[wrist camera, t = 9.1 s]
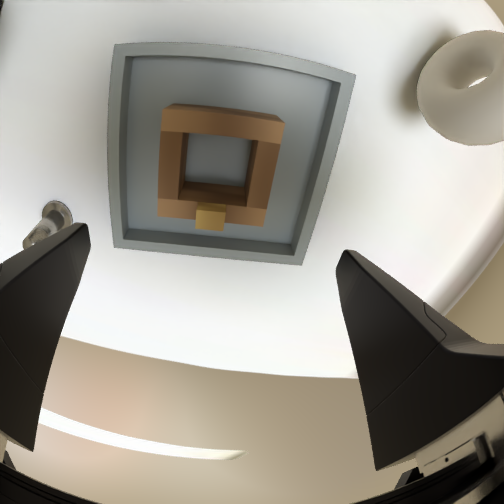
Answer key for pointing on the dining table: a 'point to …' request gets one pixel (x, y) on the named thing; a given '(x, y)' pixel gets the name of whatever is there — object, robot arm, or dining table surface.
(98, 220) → the dining table surface
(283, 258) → the tray
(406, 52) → the dining table surface
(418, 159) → the dining table surface
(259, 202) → the ring
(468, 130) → the grey wheel
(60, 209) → the metal knob
